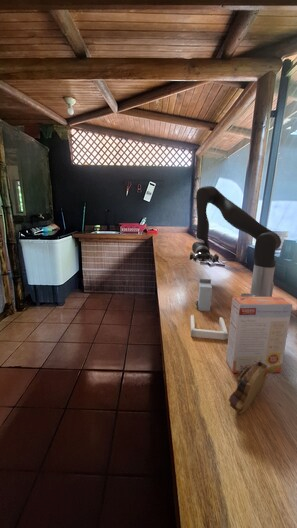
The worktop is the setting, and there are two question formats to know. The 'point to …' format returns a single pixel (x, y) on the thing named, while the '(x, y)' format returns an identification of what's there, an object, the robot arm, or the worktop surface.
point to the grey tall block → (204, 295)
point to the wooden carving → (248, 386)
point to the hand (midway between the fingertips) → (204, 260)
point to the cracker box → (258, 332)
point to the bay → (209, 331)
